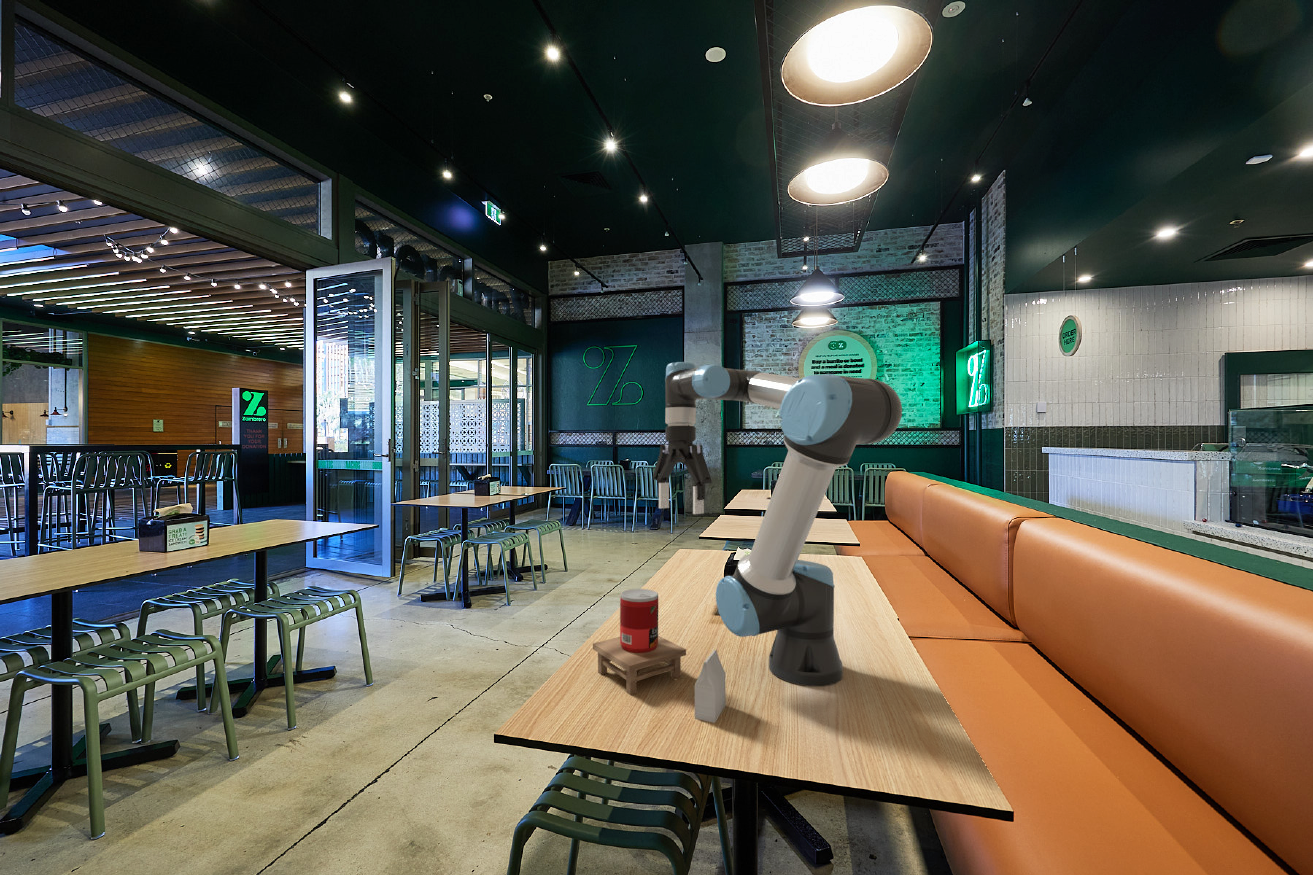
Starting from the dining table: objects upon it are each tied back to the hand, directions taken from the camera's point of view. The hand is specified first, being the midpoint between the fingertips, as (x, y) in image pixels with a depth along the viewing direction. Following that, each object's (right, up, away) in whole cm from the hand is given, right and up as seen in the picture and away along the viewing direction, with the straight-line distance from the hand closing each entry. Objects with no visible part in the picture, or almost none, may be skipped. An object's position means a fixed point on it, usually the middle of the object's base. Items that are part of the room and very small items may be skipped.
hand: (680, 510), depth 131 cm
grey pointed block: (+4, -32, -36) cm, 48 cm away
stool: (-10, -31, -21) cm, 39 cm away
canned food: (-10, -26, -21) cm, 35 cm away
